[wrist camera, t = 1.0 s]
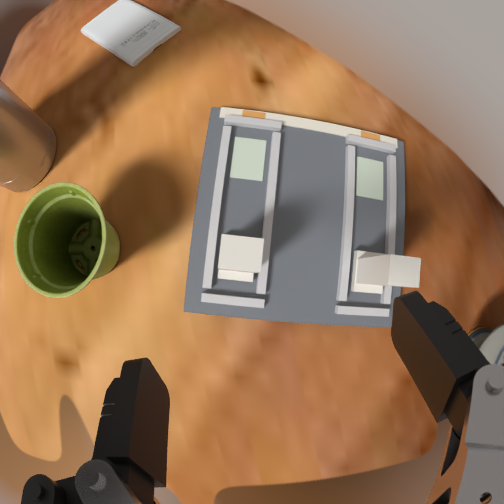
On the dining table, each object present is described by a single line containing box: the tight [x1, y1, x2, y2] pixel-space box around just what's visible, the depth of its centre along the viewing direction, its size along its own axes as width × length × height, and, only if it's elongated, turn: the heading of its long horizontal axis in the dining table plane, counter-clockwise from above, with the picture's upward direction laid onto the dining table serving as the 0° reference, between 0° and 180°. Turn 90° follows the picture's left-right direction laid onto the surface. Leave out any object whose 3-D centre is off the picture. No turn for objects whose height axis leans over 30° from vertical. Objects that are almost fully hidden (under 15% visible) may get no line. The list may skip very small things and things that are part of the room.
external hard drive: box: [81, 0, 181, 67], centre depth 33 cm, size 2×8×12 cm
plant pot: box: [14, 182, 120, 298], centre depth 27 cm, size 9×9×9 cm
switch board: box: [184, 107, 405, 327], centre depth 32 cm, size 22×21×2 cm
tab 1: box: [218, 234, 264, 282], centre depth 27 cm, size 3×4×8 cm
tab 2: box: [351, 250, 421, 294], centre depth 28 cm, size 3×4×8 cm
